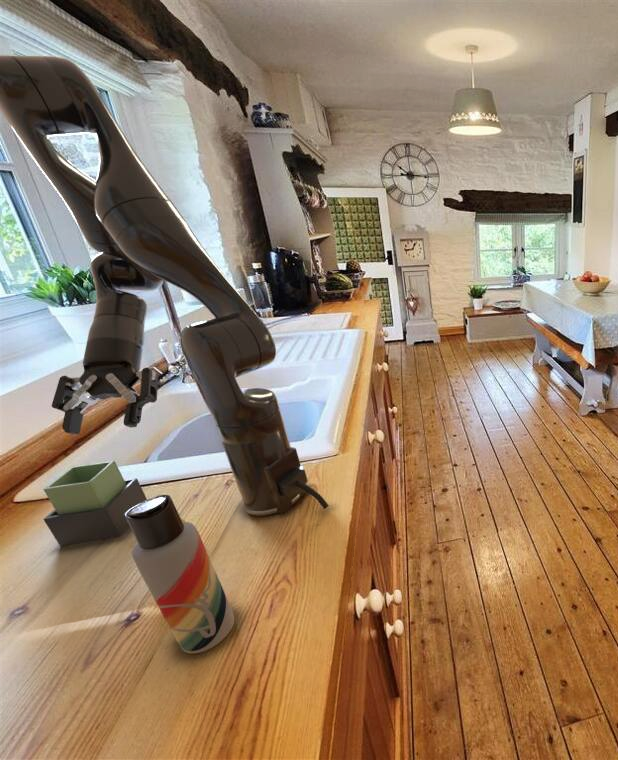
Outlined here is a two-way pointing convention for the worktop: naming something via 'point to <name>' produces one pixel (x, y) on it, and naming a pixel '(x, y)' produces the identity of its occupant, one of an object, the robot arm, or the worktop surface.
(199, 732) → the worktop surface
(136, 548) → the lotion bottle
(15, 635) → the worktop surface
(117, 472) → the green bin
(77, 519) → the charcoal bin
